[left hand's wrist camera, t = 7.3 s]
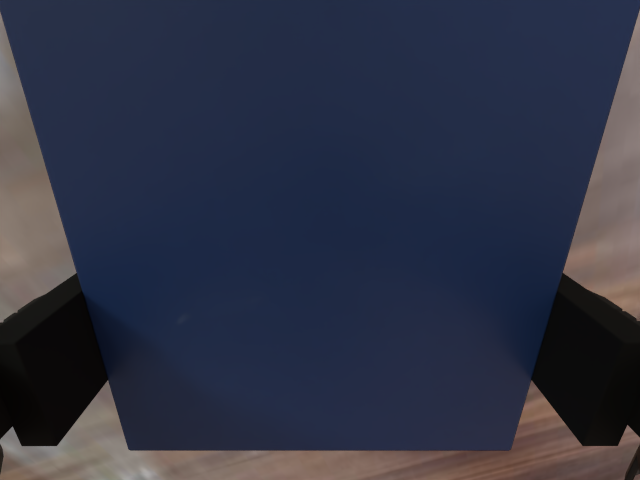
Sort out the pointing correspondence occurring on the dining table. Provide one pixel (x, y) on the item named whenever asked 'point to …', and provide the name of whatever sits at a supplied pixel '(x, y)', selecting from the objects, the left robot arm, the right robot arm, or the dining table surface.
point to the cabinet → (319, 205)
